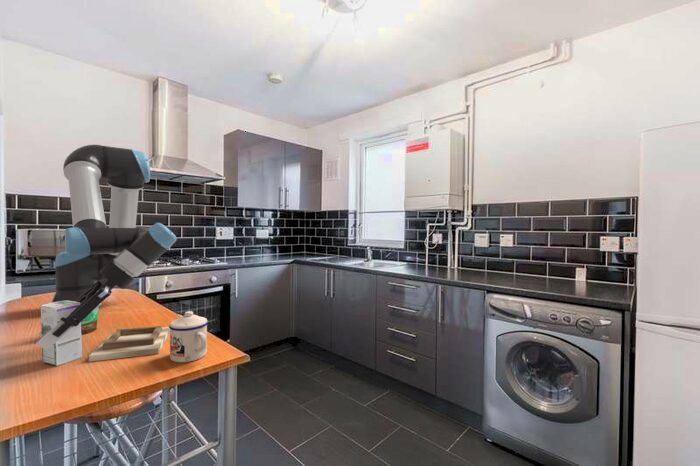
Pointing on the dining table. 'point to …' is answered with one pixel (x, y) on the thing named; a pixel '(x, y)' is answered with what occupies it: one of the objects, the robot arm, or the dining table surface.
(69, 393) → the dining table surface
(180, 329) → the teacup with lid
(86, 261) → the robot arm
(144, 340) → the beige square tray
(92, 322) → the food container
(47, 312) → the syrup box
